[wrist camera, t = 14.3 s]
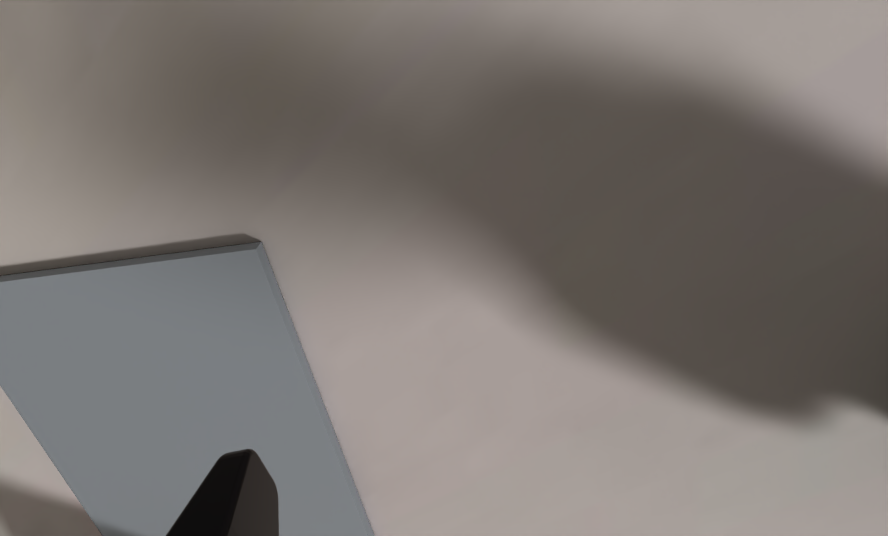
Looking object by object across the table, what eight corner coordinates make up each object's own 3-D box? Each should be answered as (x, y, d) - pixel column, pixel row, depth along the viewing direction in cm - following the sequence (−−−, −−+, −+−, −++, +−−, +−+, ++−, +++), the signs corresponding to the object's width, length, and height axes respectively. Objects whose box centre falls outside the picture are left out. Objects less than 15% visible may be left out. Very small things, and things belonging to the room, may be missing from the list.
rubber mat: (-55, 283, 25) (-67, 291, 25) (261, 241, 23) (255, 250, 22) (205, 671, 38) (200, 682, 38) (428, 675, 35) (426, 687, 35)
